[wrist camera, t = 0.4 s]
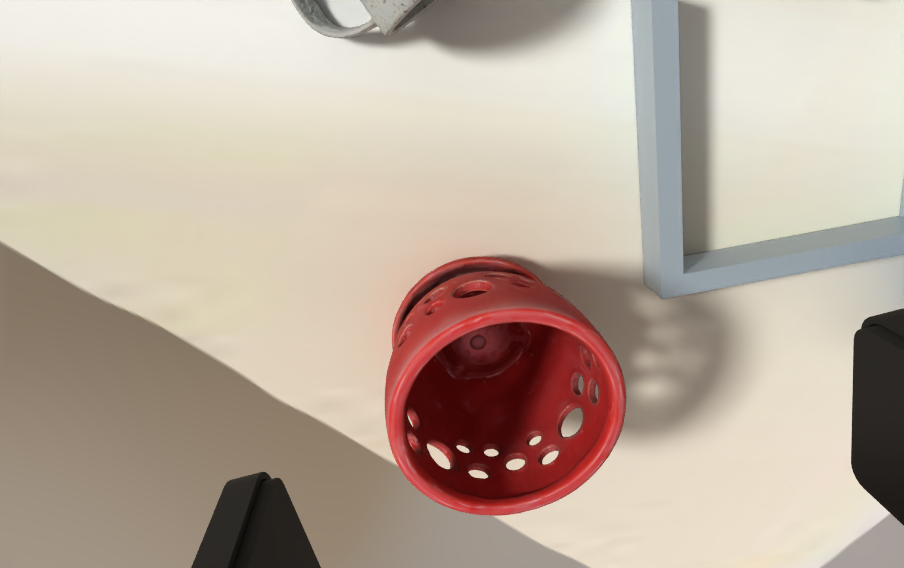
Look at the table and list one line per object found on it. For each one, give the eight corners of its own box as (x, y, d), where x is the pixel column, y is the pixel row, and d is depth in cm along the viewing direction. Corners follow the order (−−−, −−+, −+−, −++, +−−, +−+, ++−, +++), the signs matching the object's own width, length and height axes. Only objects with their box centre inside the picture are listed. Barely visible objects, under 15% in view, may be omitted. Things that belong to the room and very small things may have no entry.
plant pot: (458, 434, 45) (477, 558, 34) (349, 310, 41) (330, 405, 29) (603, 341, 43) (673, 440, 32) (505, 199, 39) (549, 257, 28)
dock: (631, -3, 35) (650, -8, 32) (956, -60, 35) (1004, -70, 32) (644, 283, 42) (661, 299, 39) (917, 232, 42) (954, 244, 39)
